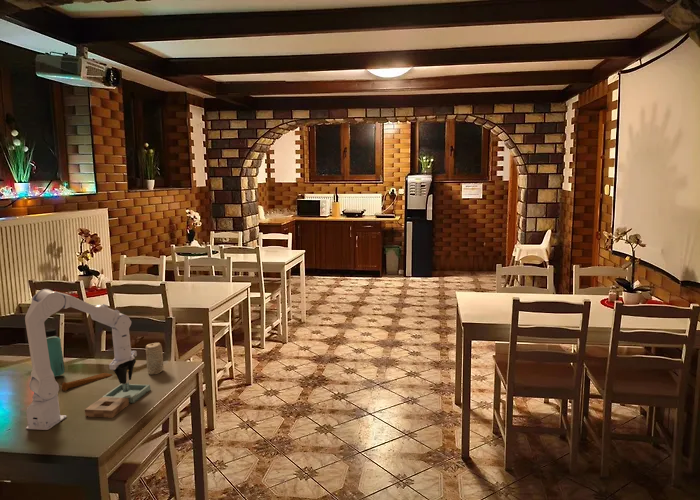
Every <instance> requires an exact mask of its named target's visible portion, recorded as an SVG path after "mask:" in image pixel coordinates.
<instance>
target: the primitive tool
mask: <svg viewBox="0 0 700 500" xmlns="http://www.w3.org/2000/svg"><path fill="white" fill-rule="evenodd" d="M112 376H113V373H107V372H102V373H98V374H94V375H92V376H88V377H84V378H80V379H76V380H72V381H67V382H65V381H63V382H62V384H61V389H62V391H68V390H70V389H72V388H76V387H80V386H82V385H85V384H89V383H92V382H96V381H99V380H100V381H101V380H103V379H107V378H111V377H112Z"/></svg>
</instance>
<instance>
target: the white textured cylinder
mask: <svg viewBox="0 0 700 500" xmlns="http://www.w3.org/2000/svg"><path fill="white" fill-rule="evenodd" d="M163 351H164V350H163V346H162V343H160V342H152V343H148V344H146V345H145V355H146V369H147V373H148V374H149V375H150V376H151V375H152V376H153V375H158V374H160V373H161V372H162V371H163V370H164V357H163V355H164V354H163Z"/></svg>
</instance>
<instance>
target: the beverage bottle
mask: <svg viewBox="0 0 700 500" xmlns="http://www.w3.org/2000/svg"><path fill="white" fill-rule="evenodd" d="M45 332H46V339H47V346H48V353H49V360H50V366H51V370H52V372H53V374H54V377H58V376H61V375H63V374H65V372H66V371H65V370H66V369H65V368H66V367H65V361H64V356H63V355H64V354H63V347H62V340H61V338H60V337H59V336H56V335H58V333H57V329H55V328H49V329H45Z"/></svg>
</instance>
